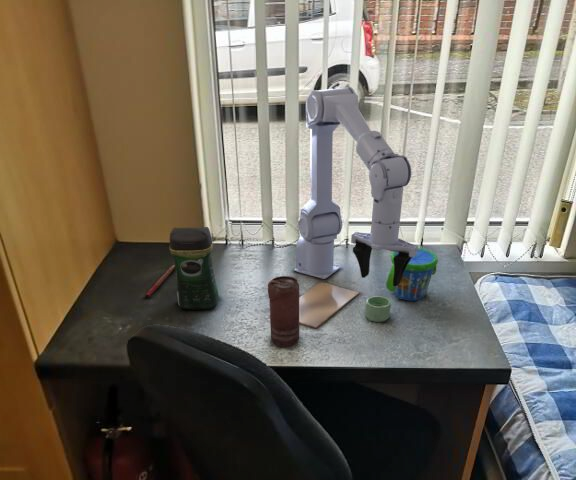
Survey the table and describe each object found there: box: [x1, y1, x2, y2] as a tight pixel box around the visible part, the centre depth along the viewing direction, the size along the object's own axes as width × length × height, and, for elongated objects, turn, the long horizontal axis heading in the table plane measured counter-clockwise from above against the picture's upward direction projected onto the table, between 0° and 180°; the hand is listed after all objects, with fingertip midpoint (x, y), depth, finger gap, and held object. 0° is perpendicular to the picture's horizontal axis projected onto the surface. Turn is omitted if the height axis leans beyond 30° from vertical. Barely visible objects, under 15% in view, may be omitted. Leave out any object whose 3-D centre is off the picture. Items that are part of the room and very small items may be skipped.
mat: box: [299, 281, 360, 330], centre depth 136 cm, size 11×20×1 cm, turn 146°
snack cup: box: [385, 247, 439, 302], centre depth 136 cm, size 16×10×10 cm
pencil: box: [144, 264, 176, 299], centre depth 147 cm, size 19×1×1 cm, turn 168°
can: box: [267, 275, 300, 349], centre depth 118 cm, size 6×6×14 cm
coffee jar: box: [169, 226, 220, 311], centre depth 131 cm, size 10×8×19 cm
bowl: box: [364, 295, 392, 323], centre depth 129 cm, size 6×6×4 cm
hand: (380, 280), depth 125 cm, fingers open, 7 cm apart
